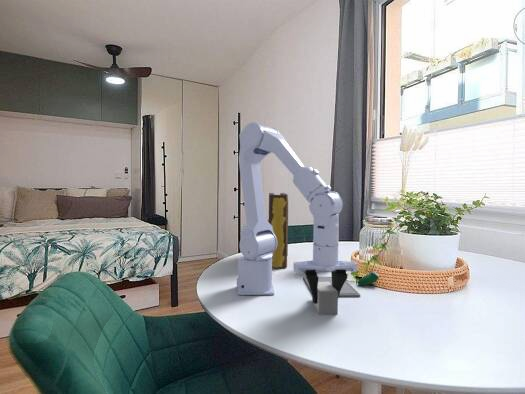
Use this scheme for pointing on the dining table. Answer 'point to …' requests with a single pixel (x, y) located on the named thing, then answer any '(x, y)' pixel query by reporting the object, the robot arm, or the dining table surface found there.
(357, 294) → the mat
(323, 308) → the plug
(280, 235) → the book
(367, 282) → the gaming controller
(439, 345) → the dining table surface
